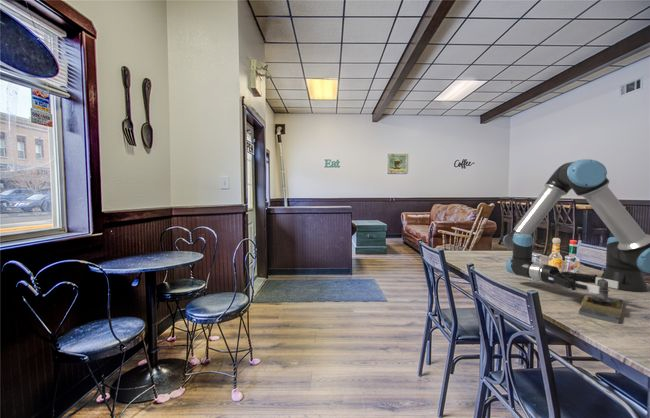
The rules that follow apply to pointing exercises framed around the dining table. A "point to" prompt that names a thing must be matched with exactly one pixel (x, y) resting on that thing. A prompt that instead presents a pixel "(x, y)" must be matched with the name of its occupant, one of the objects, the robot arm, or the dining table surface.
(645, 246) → the robot arm
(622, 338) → the dining table surface
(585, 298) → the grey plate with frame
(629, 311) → the dining table surface
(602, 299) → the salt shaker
